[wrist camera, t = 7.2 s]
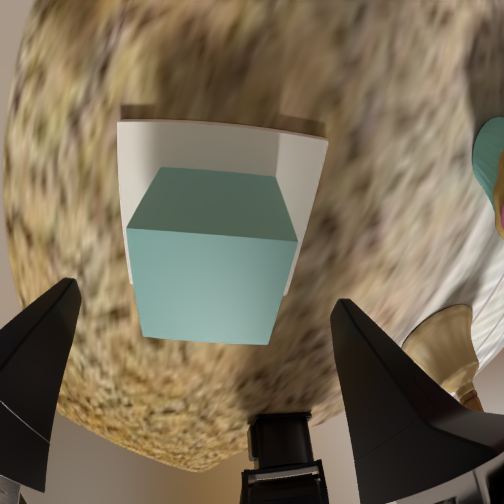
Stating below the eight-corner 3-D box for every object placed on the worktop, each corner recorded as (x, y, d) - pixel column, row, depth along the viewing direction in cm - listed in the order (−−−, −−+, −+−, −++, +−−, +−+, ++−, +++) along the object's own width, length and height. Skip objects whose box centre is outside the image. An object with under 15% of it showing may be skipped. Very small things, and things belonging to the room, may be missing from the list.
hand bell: (483, 297, 21) (556, 437, 8) (448, 351, 25) (497, 472, 13) (420, 310, 20) (494, 490, 7) (387, 367, 25) (431, 510, 12)
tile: (324, 137, 12) (328, 141, 12) (285, 288, 17) (286, 295, 17) (122, 119, 11) (117, 122, 10) (132, 276, 16) (130, 283, 16)
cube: (275, 177, 13) (298, 241, 9) (258, 266, 15) (267, 344, 11) (160, 167, 12) (125, 228, 8) (162, 259, 15) (143, 336, 11)
